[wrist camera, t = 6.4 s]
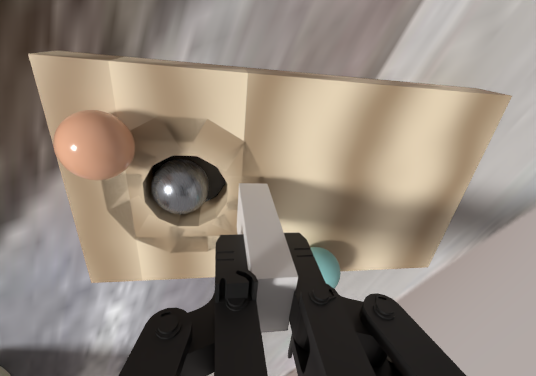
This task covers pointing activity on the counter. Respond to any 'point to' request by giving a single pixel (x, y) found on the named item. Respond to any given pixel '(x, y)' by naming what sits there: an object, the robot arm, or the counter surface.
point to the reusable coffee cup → (4, 372)
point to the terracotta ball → (94, 145)
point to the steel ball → (180, 186)
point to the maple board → (268, 159)
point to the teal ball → (327, 265)
